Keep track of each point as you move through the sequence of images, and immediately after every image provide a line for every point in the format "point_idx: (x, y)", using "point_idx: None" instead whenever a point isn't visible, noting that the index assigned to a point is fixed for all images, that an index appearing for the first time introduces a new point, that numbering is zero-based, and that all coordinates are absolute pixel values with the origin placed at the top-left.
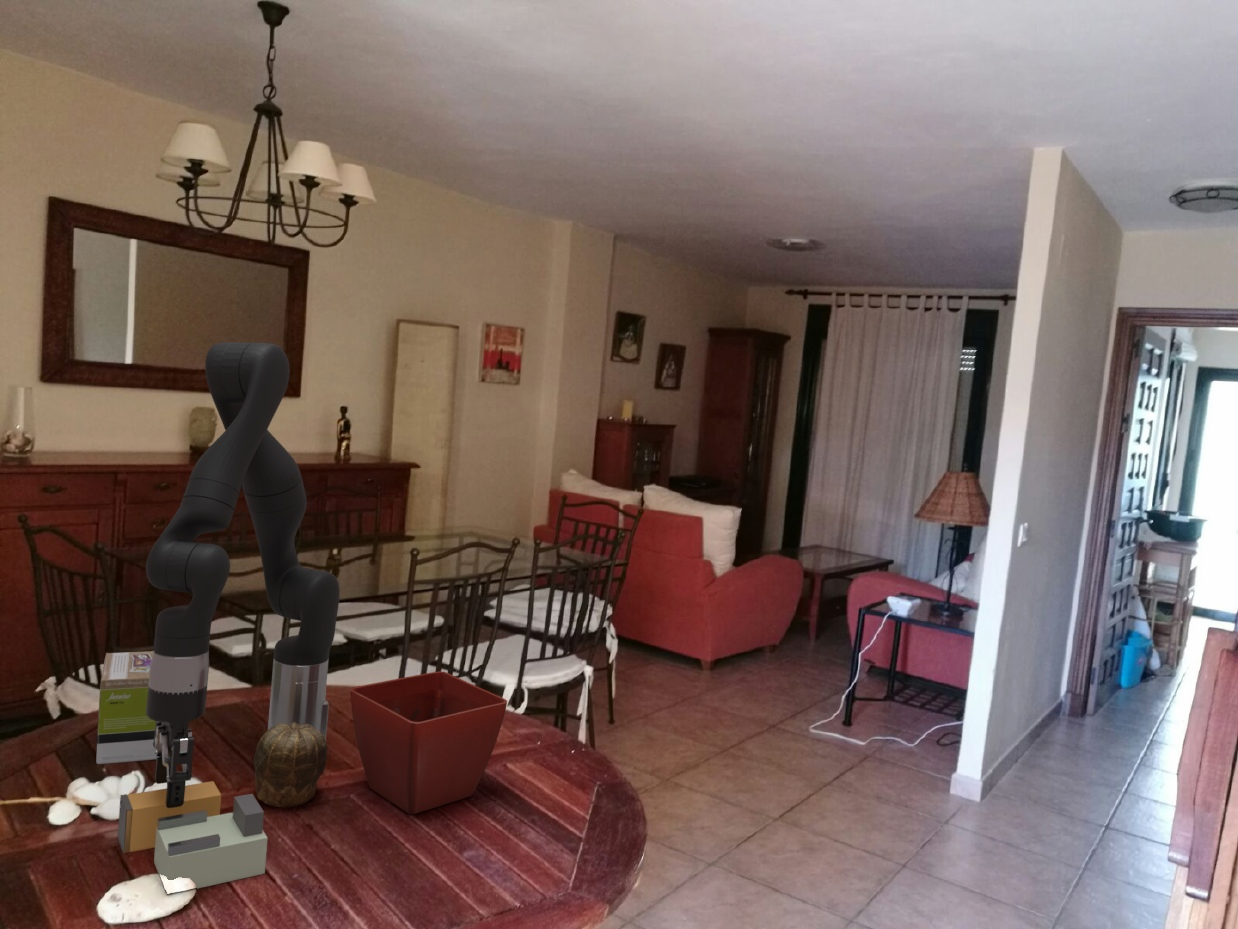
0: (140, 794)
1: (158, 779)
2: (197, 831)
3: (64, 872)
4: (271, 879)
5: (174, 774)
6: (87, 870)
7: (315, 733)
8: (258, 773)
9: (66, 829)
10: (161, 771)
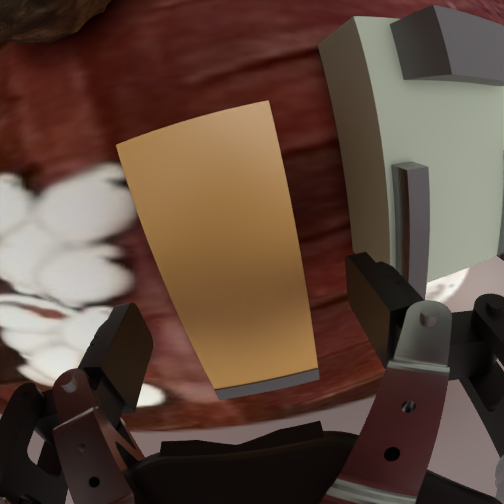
0: (216, 365)
1: (148, 346)
2: (454, 192)
3: (332, 369)
4: None
5: (499, 372)
6: (339, 346)
7: None
8: (60, 2)
9: (181, 389)
10: (136, 359)
